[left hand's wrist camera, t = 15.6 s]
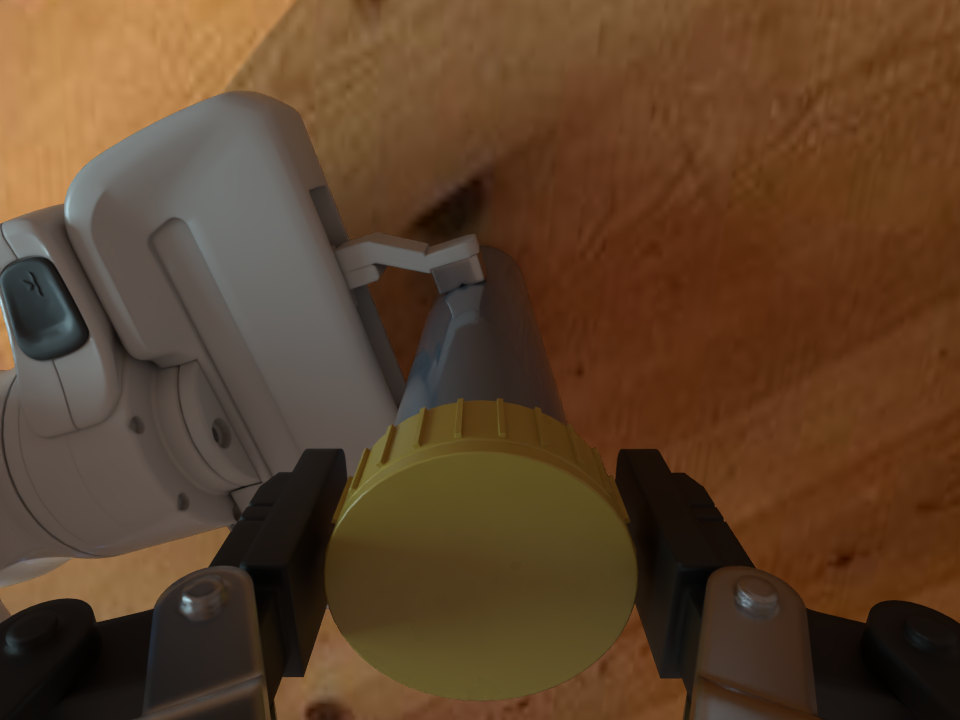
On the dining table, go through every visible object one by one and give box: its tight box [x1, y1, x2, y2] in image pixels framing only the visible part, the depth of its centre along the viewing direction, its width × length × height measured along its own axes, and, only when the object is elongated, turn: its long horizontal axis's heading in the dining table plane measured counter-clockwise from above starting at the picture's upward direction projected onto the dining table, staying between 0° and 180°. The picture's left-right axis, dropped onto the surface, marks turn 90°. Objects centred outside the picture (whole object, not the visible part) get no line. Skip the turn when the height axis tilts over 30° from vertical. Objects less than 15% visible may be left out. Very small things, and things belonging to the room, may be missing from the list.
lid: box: [323, 398, 639, 701], centre depth 10 cm, size 5×5×2 cm
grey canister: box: [394, 246, 568, 426], centre depth 19 cm, size 4×4×19 cm
